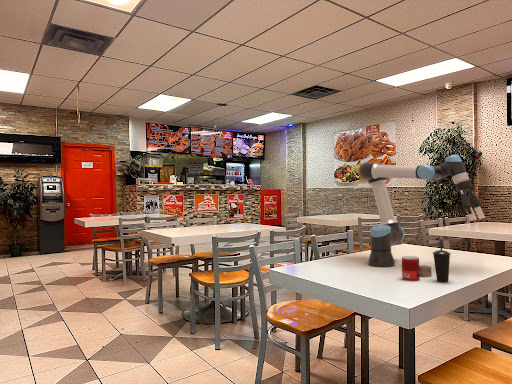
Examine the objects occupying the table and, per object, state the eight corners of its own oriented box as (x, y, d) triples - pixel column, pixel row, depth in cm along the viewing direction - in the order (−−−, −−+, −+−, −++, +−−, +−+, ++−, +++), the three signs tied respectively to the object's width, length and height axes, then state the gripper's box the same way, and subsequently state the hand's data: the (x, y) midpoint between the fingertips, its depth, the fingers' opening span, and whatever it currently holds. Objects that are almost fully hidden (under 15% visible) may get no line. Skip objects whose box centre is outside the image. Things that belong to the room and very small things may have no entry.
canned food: (421, 281, 172) (420, 258, 173) (404, 280, 174) (403, 258, 174) (417, 277, 180) (416, 255, 180) (401, 277, 181) (400, 255, 182)
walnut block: (416, 275, 185) (416, 265, 185) (425, 274, 186) (424, 265, 186) (422, 277, 180) (422, 267, 180) (431, 276, 181) (431, 266, 181)
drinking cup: (430, 280, 173) (428, 239, 174) (441, 278, 176) (440, 238, 176) (443, 283, 166) (441, 241, 166) (455, 282, 169) (453, 239, 169)
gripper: (461, 179, 182) (477, 218, 177) (477, 179, 199) (492, 215, 194) (446, 184, 188) (462, 223, 182) (463, 184, 204) (478, 219, 199)
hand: (478, 219), depth 188 cm, fingers open, 13 cm apart
